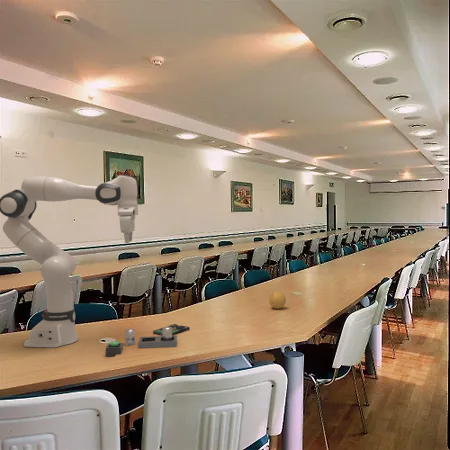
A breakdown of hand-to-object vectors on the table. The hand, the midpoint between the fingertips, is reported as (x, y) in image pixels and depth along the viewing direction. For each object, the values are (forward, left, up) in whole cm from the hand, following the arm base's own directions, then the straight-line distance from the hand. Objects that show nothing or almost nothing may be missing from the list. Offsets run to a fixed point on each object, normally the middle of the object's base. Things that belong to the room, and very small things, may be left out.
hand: (128, 242), depth 195 cm
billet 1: (+1, -10, -44) cm, 45 cm away
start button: (-4, -20, -41) cm, 45 cm away
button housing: (-4, -20, -44) cm, 48 cm away
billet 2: (+17, -12, -43) cm, 48 cm away
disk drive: (+18, +7, -45) cm, 49 cm away
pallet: (+13, -12, -44) cm, 47 cm away
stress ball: (+78, +50, -44) cm, 103 cm away
